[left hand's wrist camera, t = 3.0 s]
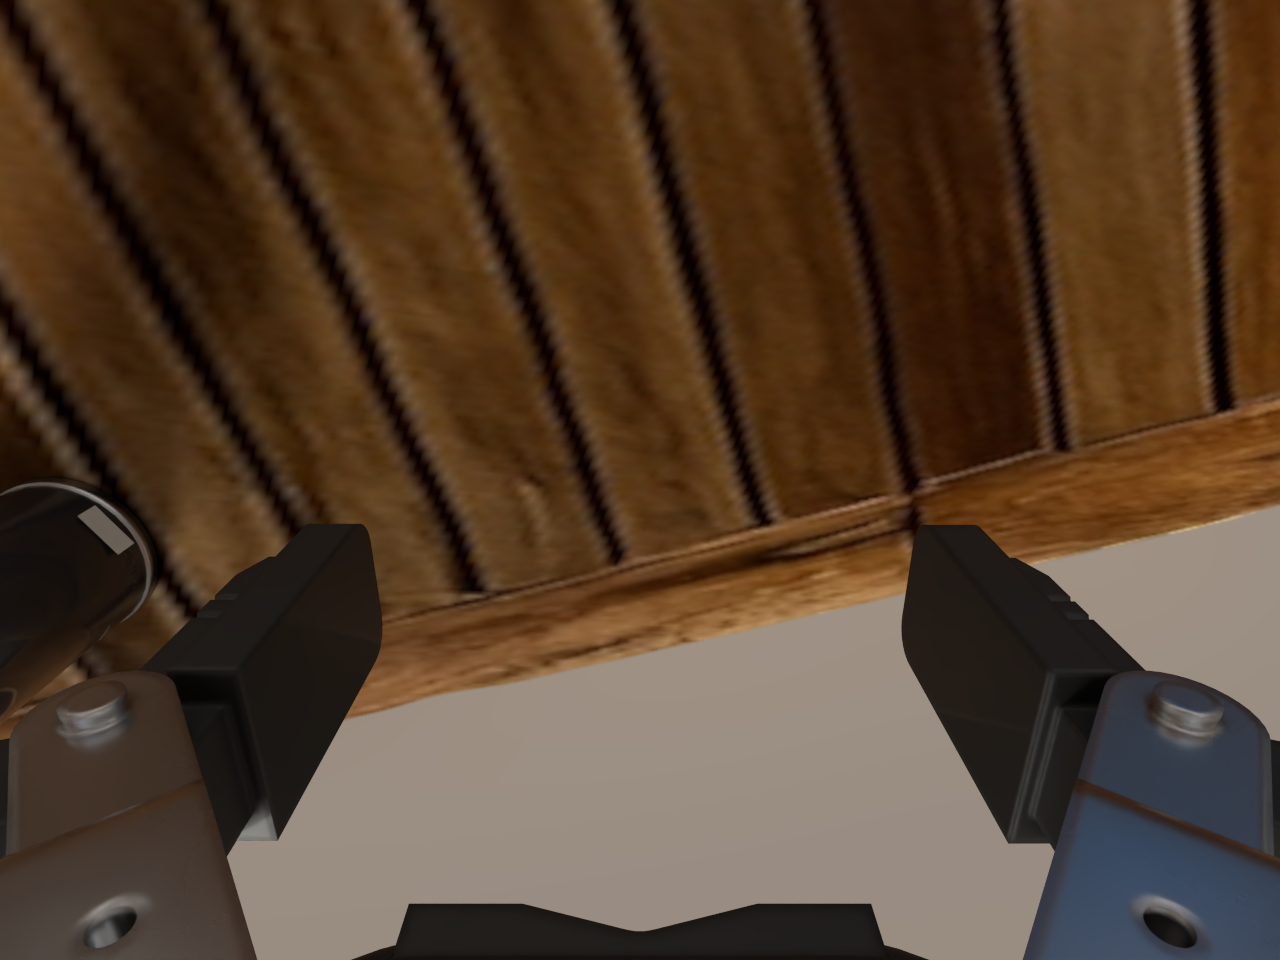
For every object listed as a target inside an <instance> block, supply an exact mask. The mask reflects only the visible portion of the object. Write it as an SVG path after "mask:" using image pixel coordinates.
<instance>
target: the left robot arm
mask: <svg viewBox="0 0 1280 960" xmlns="http://www.w3.org/2000/svg"><path fill="white" fill-rule="evenodd" d="M157 576H158V562H157V556H156V552H155V549H154V546H153V543H152V541H151V539H150V537H149V535H148V533H147V532H146V530H145V528H144V527H143V526H142V524H141V523H140V522H139V520H138V519H137V518H136V517H135V516H134V515H133V514H132V513H131V512H130V510H128V509H127V508H126V507H125V506H124V505H123V504H121V503H120V502H119V501H118V500H116V499H115V498H113V497H112V496H110V495H109V494H107V493H105V492H103V491H101V490H100V489H97V488H95V487H93V486H91V485H88V484H85V483H82V482H79V481H75V480H70V479H64V478H39V479H33V480H30V481H26V482H24V483H21V484H19V485H17V486H15V487H13V488H11V489H9V490H7V491H5V492H3V493H1V494H0V725H1V724H2V723H3V722H4V721H5V720H7V719H8V718H9V717H10V716H11V715H12V714H14V713H15V712H16V711H17V710H18V709H20V708H21V707H22V706H23V705H24V704H25V703H27V702H28V701H29V700H30V699H31V698H32V697H34V696H35V695H36V694H37V693H38V692H39V691H41V690H42V689H43V688H44V687H45V686H46V685H48V684H49V683H50V682H51V681H52V680H53V679H55V678H56V677H57V676H58V675H59V674H60V673H62V672H63V671H64V670H65V669H66V668H67V667H69V666H70V665H71V664H72V663H73V662H74V661H76V660H77V659H78V658H79V657H80V656H81V655H83V654H84V653H85V652H86V651H87V650H88V649H90V648H91V647H92V646H93V645H95V644H96V643H97V642H98V641H99V640H100V639H102V638H103V637H104V636H105V635H106V634H107V633H109V632H110V631H111V630H112V629H113V628H114V627H116V626H117V625H118V624H119V623H121V622H123V621H124V620H126V619H127V618H129V617H130V616H131V615H132V614H133V613H135V612H136V611H137V610H138V609H139V608H140V607H142V606H143V605H144V604H145V603H146V602H147V600H148V599H149V598H150V596H151V594H152V592H153V591H154V588H155V585H156V582H157ZM381 640H382V614H381V608H380V601H379V594H378V588H377V581H376V574H375V568H374V561H373V554H372V548H371V542H370V537H369V534H368V531H367V529H366V528H365V526H364V525H362V524H308V525H306V526H305V527H304V528H303V529H302V530H301V531H300V532H299V533H298V534H297V535H296V536H295V537H294V538H293V539H292V540H291V541H290V542H289V543H288V544H287V545H286V546H285V547H284V548H283V549H282V550H281V551H280V553H279V554H278V555H277V556H276V557H268V558H266V559H264V560H262V561H261V562H259V563H257V564H255V565H253V566H251V567H250V568H248V569H246V570H244V571H242V572H240V573H239V574H237V575H236V576H235V577H234V578H233V579H231V580H230V581H229V582H228V583H227V584H226V585H225V586H224V587H223V588H222V589H221V590H220V591H219V592H218V593H217V594H216V595H215V600H210V601H209V602H208V603H207V604H206V605H205V606H204V607H203V608H202V609H201V610H200V611H199V612H198V613H197V618H192V619H191V620H190V621H189V622H188V623H187V624H186V625H185V626H184V627H183V628H182V629H181V630H180V631H179V632H178V633H177V634H176V635H175V636H174V637H173V638H172V639H171V640H170V641H169V642H167V643H166V644H165V645H164V646H163V647H162V648H161V649H160V650H159V651H158V652H157V653H156V654H155V655H154V656H153V657H152V658H151V659H150V660H149V661H148V662H147V663H146V664H145V665H144V666H143V667H142V668H141V669H140V670H139V671H126V672H118V673H113V674H108V675H104V676H100V677H96V678H93V679H90V680H87V681H84V682H81V683H78V684H76V685H74V686H71V687H69V688H67V689H64V690H62V691H60V692H58V693H57V694H55V695H53V696H51V697H49V698H48V699H46V700H44V701H43V702H41V703H40V704H38V705H37V706H36V707H34V708H33V709H32V710H30V711H29V712H28V713H27V714H26V715H25V716H24V717H23V718H22V719H21V720H20V721H19V722H18V724H17V725H16V726H15V728H14V729H13V731H12V733H11V736H10V738H9V739H4V740H0V960H257V958H256V954H255V951H254V947H253V944H252V941H251V937H250V934H249V931H248V927H247V924H246V920H245V917H244V914H243V910H242V907H241V903H240V900H239V897H238V893H237V890H236V887H235V883H234V880H233V876H232V873H231V870H230V866H229V863H228V860H227V855H228V854H229V852H230V851H231V849H232V847H233V846H234V844H235V842H236V841H277V840H278V839H279V837H280V835H281V834H282V832H283V830H284V828H285V826H286V824H287V823H288V821H289V819H290V817H291V815H292V813H293V811H294V810H295V808H296V806H297V804H298V802H299V801H300V799H301V797H302V795H303V793H304V791H305V789H306V788H307V786H308V784H309V782H310V780H311V779H312V777H313V775H314V773H315V771H316V769H317V768H318V766H319V764H320V762H321V760H322V758H323V757H324V755H325V753H326V751H327V749H328V747H329V746H330V744H331V742H332V740H333V738H334V736H335V735H336V733H337V731H338V729H339V727H340V726H341V724H342V722H343V720H344V718H345V716H346V715H347V713H348V711H349V709H350V707H351V705H352V704H353V702H354V700H355V698H356V696H357V694H358V693H359V691H360V689H361V687H362V685H363V683H364V682H365V680H366V678H367V676H368V674H369V672H370V671H371V669H372V667H373V665H374V663H375V661H376V659H377V657H378V654H379V650H380V646H381ZM902 641H903V647H904V652H905V655H906V658H907V661H908V663H909V665H910V666H911V668H912V670H913V672H914V674H915V676H916V677H917V679H918V681H919V683H920V685H921V686H922V688H923V690H924V692H925V694H926V695H927V697H928V699H929V701H930V702H931V704H932V706H933V708H934V710H935V712H936V713H937V715H938V717H939V719H940V721H941V722H942V724H943V726H944V728H945V730H946V732H947V733H948V735H949V737H950V739H951V741H952V742H953V744H954V746H955V748H956V750H957V751H958V753H959V755H960V757H961V759H962V760H963V762H964V764H965V766H966V768H967V769H968V771H969V773H970V775H971V777H972V779H973V780H974V782H975V784H976V786H977V787H978V789H979V791H980V793H981V795H982V797H983V798H984V800H985V802H986V804H987V806H988V807H989V809H990V811H991V813H992V815H993V817H994V818H995V820H996V822H997V824H998V826H999V827H1000V829H1001V831H1002V833H1003V835H1004V836H1005V838H1006V840H1007V842H1008V843H1050V844H1051V846H1052V848H1053V849H1054V851H1055V853H1054V856H1053V860H1052V863H1051V866H1050V870H1049V873H1048V876H1047V880H1046V883H1045V887H1044V890H1043V893H1042V897H1041V900H1040V903H1039V907H1038V910H1037V914H1036V917H1035V920H1034V924H1033V927H1032V931H1031V934H1030V937H1029V941H1028V944H1027V947H1026V951H1025V954H1024V958H1023V960H1280V741H1276V740H1271V739H1270V736H1269V733H1268V731H1267V730H1266V728H1265V726H1264V725H1263V724H1262V722H1261V721H1260V720H1259V719H1258V718H1257V717H1256V716H1255V715H1254V714H1253V713H1252V712H1251V711H1250V710H1248V709H1247V708H1246V707H1244V706H1243V705H1242V704H1240V703H1239V702H1237V701H1236V700H1234V699H1232V698H1231V697H1229V696H1227V695H1225V694H1223V693H1222V692H1220V691H1218V690H1216V689H1213V688H1211V687H1209V686H1206V685H1204V684H1202V683H1199V682H1196V681H1193V680H1190V679H1187V678H1184V677H1180V676H1176V675H1172V674H1167V673H1162V672H1154V671H1145V670H1144V669H1143V668H1142V667H1141V666H1140V665H1139V664H1138V663H1137V662H1136V661H1135V660H1134V659H1133V658H1132V657H1131V656H1130V655H1129V654H1128V653H1127V652H1126V651H1125V650H1124V649H1123V648H1122V647H1121V646H1120V645H1119V644H1118V643H1117V642H1116V641H1115V640H1114V639H1113V638H1112V637H1111V636H1110V635H1109V634H1108V633H1106V631H1105V630H1103V629H1102V628H1101V627H1100V626H1099V625H1098V624H1097V623H1096V622H1095V621H1094V620H1089V615H1088V614H1087V613H1086V612H1085V611H1084V610H1083V609H1082V608H1081V607H1080V606H1079V605H1078V604H1077V603H1076V602H1071V601H1070V596H1069V595H1068V594H1067V593H1066V592H1064V591H1063V590H1062V589H1061V588H1060V587H1059V586H1058V585H1057V584H1056V583H1055V582H1054V581H1053V580H1052V579H1051V578H1050V577H1049V576H1048V575H1046V574H1044V573H1042V572H1040V571H1038V570H1037V569H1035V568H1033V567H1031V566H1029V565H1027V564H1026V563H1024V562H1022V561H1020V560H1018V559H1016V558H1009V557H1008V556H1007V555H1006V554H1005V553H1004V552H1003V551H1002V550H1001V549H1000V548H999V547H998V546H997V545H996V543H995V542H994V541H993V540H992V539H991V538H990V537H989V536H988V535H987V534H986V533H985V532H984V531H983V530H982V529H981V528H980V527H979V526H976V525H922V526H921V527H920V528H919V529H918V531H917V533H916V535H915V539H914V544H913V550H912V556H911V563H910V570H909V576H908V583H907V589H906V596H905V603H904V609H903V615H902ZM352 960H928V959H925V958H922V957H920V956H917V955H914V954H911V953H908V952H906V951H903V950H900V949H897V948H893V947H889V946H885V945H884V943H883V940H882V937H881V934H880V931H879V927H878V924H877V921H876V918H875V915H874V912H873V909H872V905H871V904H755V905H751V906H747V907H743V908H739V909H735V910H731V911H727V912H723V913H719V914H715V915H711V916H707V917H703V918H699V919H695V920H691V921H687V922H683V923H679V924H675V925H671V926H667V927H663V928H659V929H655V930H650V931H630V930H625V929H621V928H617V927H613V926H609V925H605V924H601V923H597V922H593V921H589V920H585V919H581V918H577V917H573V916H569V915H565V914H561V913H557V912H553V911H549V910H545V909H541V908H537V907H533V906H529V905H525V904H409V905H408V909H407V912H406V915H405V918H404V921H403V924H402V927H401V931H400V934H399V937H398V940H397V943H396V945H395V946H391V947H387V948H383V949H380V950H377V951H374V952H372V953H369V954H366V955H363V956H361V957H358V958H355V959H352Z"/></svg>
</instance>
